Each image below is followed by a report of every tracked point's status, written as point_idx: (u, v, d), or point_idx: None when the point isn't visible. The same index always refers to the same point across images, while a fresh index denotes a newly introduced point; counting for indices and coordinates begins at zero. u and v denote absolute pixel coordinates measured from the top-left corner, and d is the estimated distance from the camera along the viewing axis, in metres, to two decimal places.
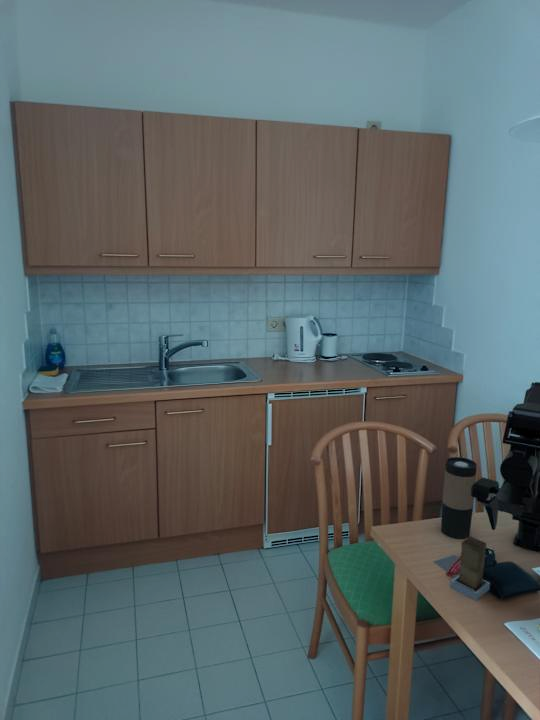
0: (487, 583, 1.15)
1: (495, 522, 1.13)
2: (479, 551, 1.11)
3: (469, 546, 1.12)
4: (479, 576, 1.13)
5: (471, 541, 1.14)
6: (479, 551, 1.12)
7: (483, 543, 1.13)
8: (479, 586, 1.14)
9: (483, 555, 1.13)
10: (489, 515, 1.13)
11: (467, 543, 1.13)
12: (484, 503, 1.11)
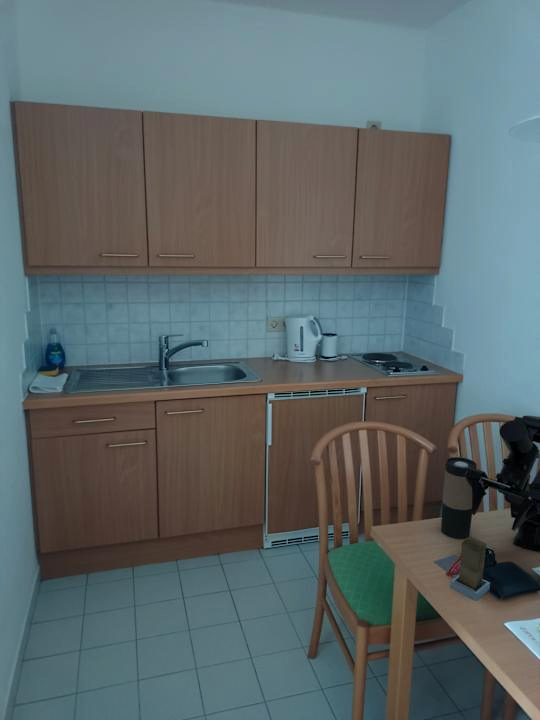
0: (487, 583, 1.15)
1: None
2: (479, 551, 1.11)
3: (469, 546, 1.12)
4: (479, 576, 1.13)
5: (471, 541, 1.14)
6: (479, 551, 1.12)
7: (483, 543, 1.13)
8: (479, 586, 1.14)
9: (483, 555, 1.13)
10: None
11: (467, 543, 1.13)
12: None
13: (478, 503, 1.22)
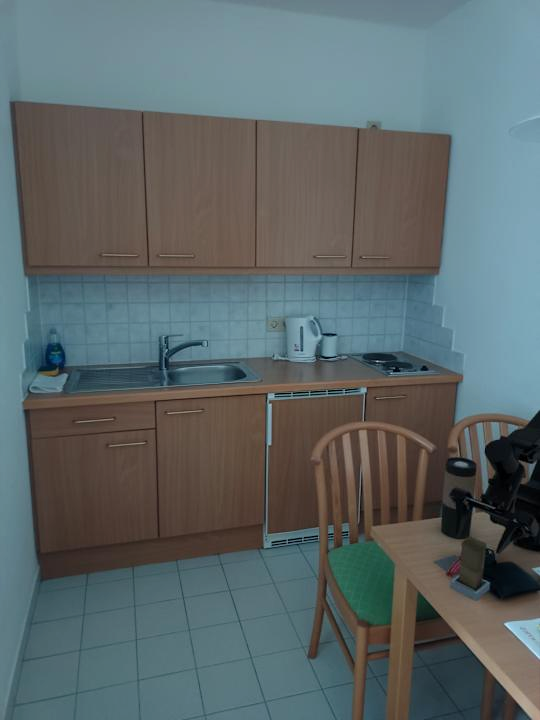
0: (487, 583, 1.15)
1: None
2: (479, 551, 1.11)
3: (469, 546, 1.12)
4: (479, 576, 1.13)
5: (471, 541, 1.14)
6: (479, 551, 1.12)
7: (483, 543, 1.13)
8: (479, 586, 1.14)
9: (483, 555, 1.13)
10: None
11: (467, 543, 1.13)
12: None
13: (462, 524, 1.19)
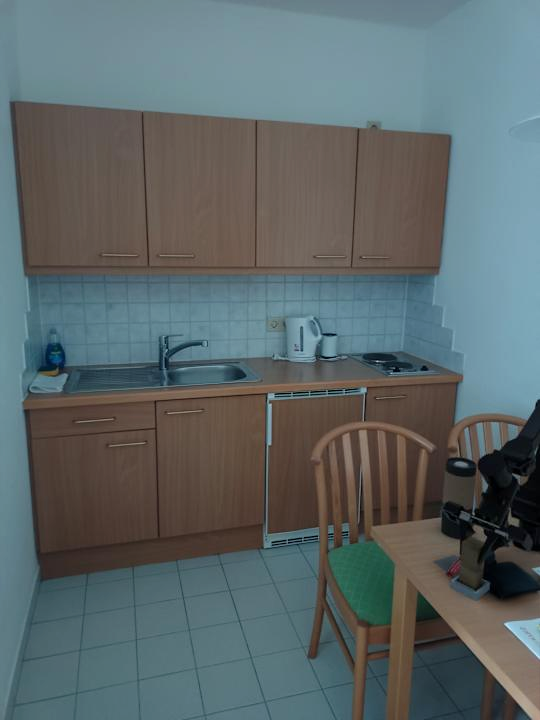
0: (487, 583, 1.15)
1: None
2: (479, 551, 1.11)
3: (469, 546, 1.12)
4: (479, 576, 1.13)
5: (471, 541, 1.14)
6: (479, 551, 1.12)
7: (483, 543, 1.13)
8: (479, 586, 1.14)
9: None
10: None
11: (467, 543, 1.13)
12: None
13: None
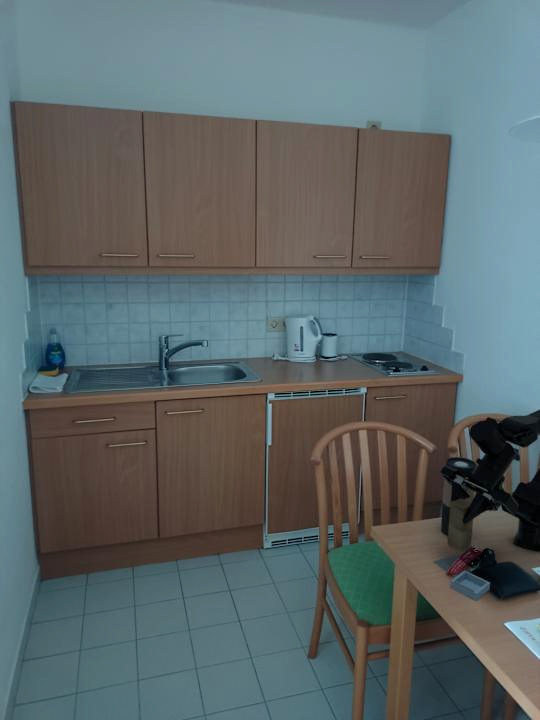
0: (487, 583, 1.15)
1: None
2: (464, 511, 1.18)
3: (456, 506, 1.19)
4: (466, 536, 1.20)
5: (460, 502, 1.20)
6: (465, 511, 1.18)
7: None
8: (467, 545, 1.20)
9: None
10: None
11: (455, 503, 1.20)
12: None
13: None
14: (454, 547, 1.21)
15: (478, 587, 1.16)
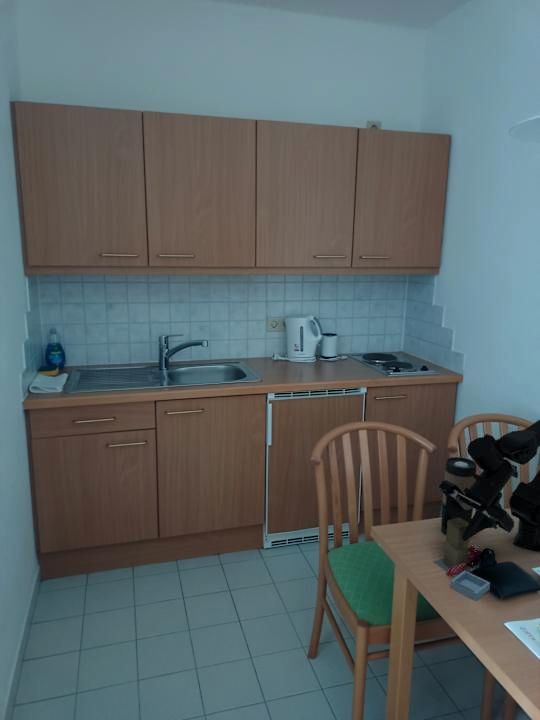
0: (487, 583, 1.15)
1: None
2: (461, 530, 1.20)
3: (453, 524, 1.21)
4: (462, 554, 1.22)
5: (457, 520, 1.23)
6: (462, 530, 1.20)
7: (468, 523, 1.21)
8: None
9: None
10: None
11: (452, 522, 1.22)
12: None
13: (451, 518, 1.25)
14: (450, 565, 1.23)
15: (478, 587, 1.16)
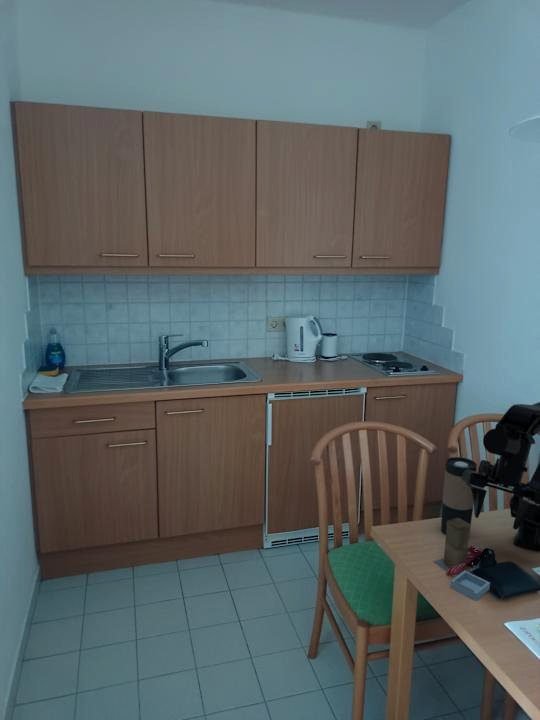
0: (487, 583, 1.15)
1: (515, 521, 1.22)
2: (460, 530, 1.20)
3: (452, 525, 1.21)
4: (462, 555, 1.22)
5: (456, 521, 1.22)
6: (461, 530, 1.20)
7: (467, 524, 1.21)
8: None
9: (467, 535, 1.21)
10: None
11: (451, 522, 1.22)
12: None
13: None
14: (450, 565, 1.23)
15: (478, 587, 1.16)
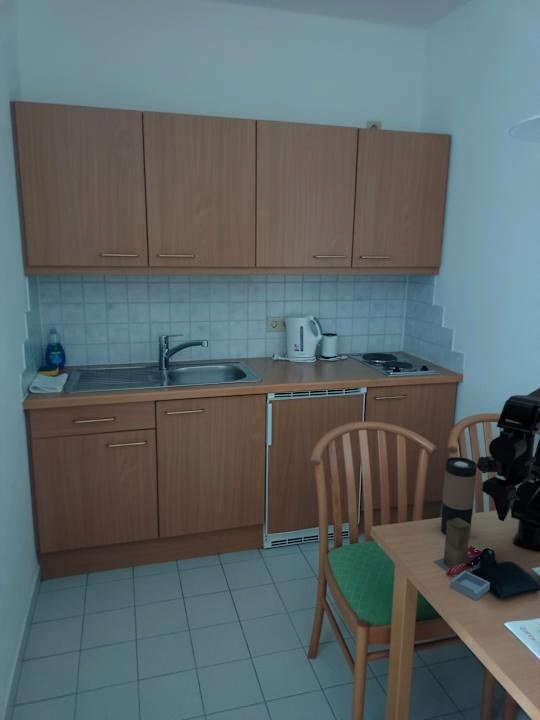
0: (487, 583, 1.15)
1: (523, 503, 1.25)
2: (460, 530, 1.20)
3: (452, 525, 1.21)
4: (462, 555, 1.22)
5: (456, 521, 1.22)
6: (461, 530, 1.20)
7: (467, 524, 1.21)
8: None
9: (467, 535, 1.21)
10: None
11: (451, 522, 1.22)
12: None
13: None
14: (450, 565, 1.23)
15: (478, 587, 1.16)
